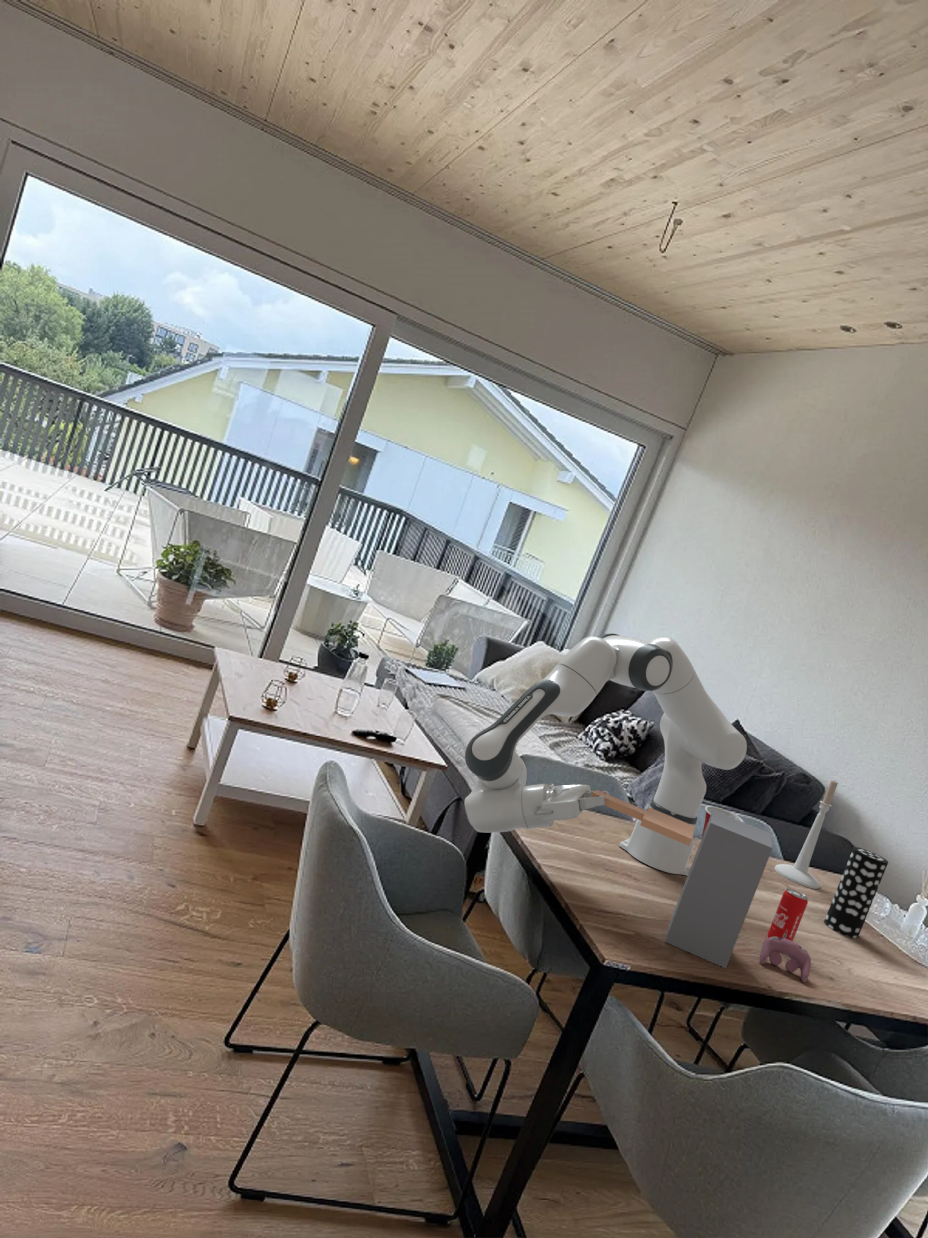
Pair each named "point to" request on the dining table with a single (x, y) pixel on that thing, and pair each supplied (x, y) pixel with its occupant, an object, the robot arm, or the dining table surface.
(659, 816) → the wooden paddle
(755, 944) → the dining table surface
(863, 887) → the white-spotted black cylinder
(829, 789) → the candlestick
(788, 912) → the beverage can
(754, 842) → the tall box
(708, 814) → the plastic cup
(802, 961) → the video game controller
